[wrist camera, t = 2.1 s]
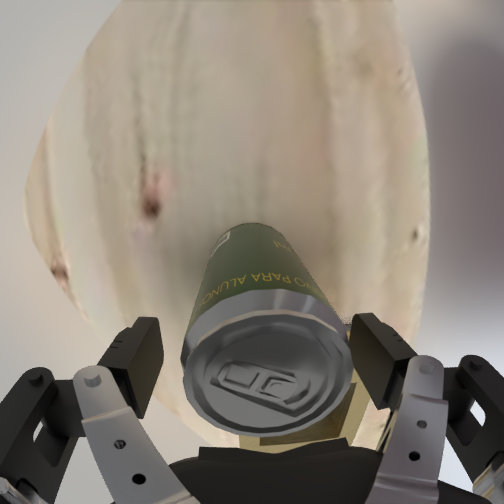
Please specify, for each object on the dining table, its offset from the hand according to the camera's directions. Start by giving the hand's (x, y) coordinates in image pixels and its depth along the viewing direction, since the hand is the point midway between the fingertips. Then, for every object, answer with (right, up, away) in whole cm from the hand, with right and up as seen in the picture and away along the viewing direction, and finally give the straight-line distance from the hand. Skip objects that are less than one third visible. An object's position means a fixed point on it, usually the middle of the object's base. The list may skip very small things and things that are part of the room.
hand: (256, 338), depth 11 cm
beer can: (0, +3, +8) cm, 9 cm away
